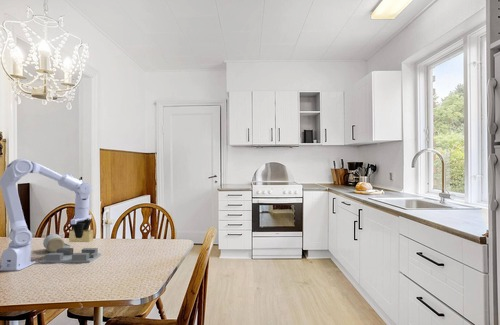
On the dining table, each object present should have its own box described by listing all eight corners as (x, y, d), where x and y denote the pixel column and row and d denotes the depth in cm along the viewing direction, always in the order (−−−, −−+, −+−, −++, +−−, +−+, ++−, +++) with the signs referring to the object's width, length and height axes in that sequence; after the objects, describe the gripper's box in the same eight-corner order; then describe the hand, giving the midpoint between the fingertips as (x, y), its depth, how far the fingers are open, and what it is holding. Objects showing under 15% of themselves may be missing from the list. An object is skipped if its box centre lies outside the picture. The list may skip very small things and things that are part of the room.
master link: (89, 242, 129) (89, 230, 129) (69, 242, 128) (69, 230, 128) (92, 240, 132) (93, 228, 132) (73, 240, 131) (73, 228, 132)
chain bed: (89, 262, 119) (89, 254, 119) (41, 262, 118) (41, 254, 118) (100, 255, 129) (101, 248, 129) (56, 255, 128) (56, 248, 128)
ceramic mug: (46, 254, 129) (47, 237, 130) (42, 250, 135) (43, 234, 135) (72, 250, 137) (73, 234, 137) (67, 246, 143) (68, 231, 143)
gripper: (82, 210, 123) (81, 240, 123) (98, 206, 138) (97, 233, 138) (66, 210, 123) (65, 240, 123) (83, 205, 138) (82, 233, 137)
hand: (81, 236), depth 130 cm, fingers closed on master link, 3 cm apart
